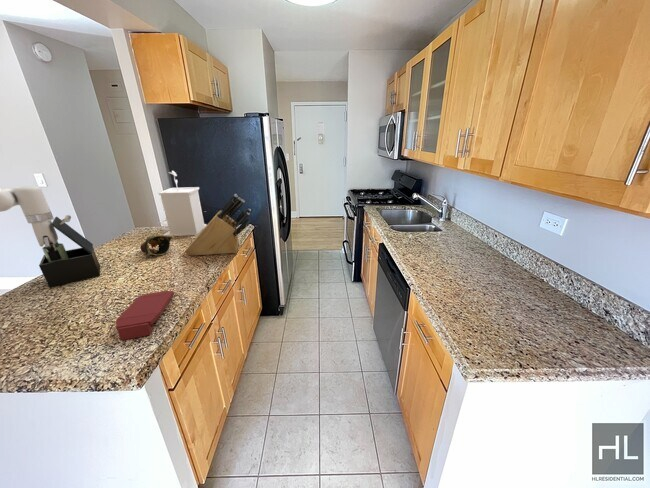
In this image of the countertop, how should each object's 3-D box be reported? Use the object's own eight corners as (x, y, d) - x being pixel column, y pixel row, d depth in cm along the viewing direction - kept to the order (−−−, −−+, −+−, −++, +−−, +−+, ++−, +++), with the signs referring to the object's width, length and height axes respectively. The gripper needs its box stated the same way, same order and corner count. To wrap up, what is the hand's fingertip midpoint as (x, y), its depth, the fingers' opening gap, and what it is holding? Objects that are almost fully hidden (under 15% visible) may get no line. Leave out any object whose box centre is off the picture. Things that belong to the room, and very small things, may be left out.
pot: (153, 230, 150) (167, 225, 140) (166, 245, 155) (182, 241, 145) (126, 249, 138) (140, 245, 128) (142, 264, 144) (156, 262, 134)
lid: (50, 224, 104) (63, 217, 105) (54, 217, 114) (66, 210, 115) (90, 254, 114) (101, 246, 116) (91, 245, 124) (101, 238, 126)
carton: (142, 306, 103) (112, 341, 80) (139, 294, 102) (108, 327, 78) (176, 300, 106) (157, 333, 83) (174, 289, 105) (154, 319, 82)
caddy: (49, 288, 109) (38, 265, 105) (53, 276, 119) (43, 254, 115) (100, 275, 119) (92, 254, 115) (99, 265, 129) (92, 245, 124)
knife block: (253, 252, 142) (247, 196, 130) (185, 257, 137) (172, 199, 126) (255, 244, 153) (249, 192, 141) (192, 248, 148) (180, 194, 136)
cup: (47, 269, 110) (38, 250, 107) (55, 263, 116) (47, 244, 113) (66, 266, 113) (58, 247, 109) (73, 260, 118) (65, 242, 115)
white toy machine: (159, 236, 166) (142, 172, 151) (177, 223, 191) (164, 167, 176) (198, 235, 168) (185, 171, 153) (210, 222, 193) (200, 167, 178)
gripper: (30, 214, 110) (48, 253, 117) (22, 224, 98) (42, 266, 104) (54, 211, 114) (70, 248, 121) (49, 220, 102) (67, 261, 109)
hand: (57, 256), depth 113 cm, fingers closed on cup, 6 cm apart
